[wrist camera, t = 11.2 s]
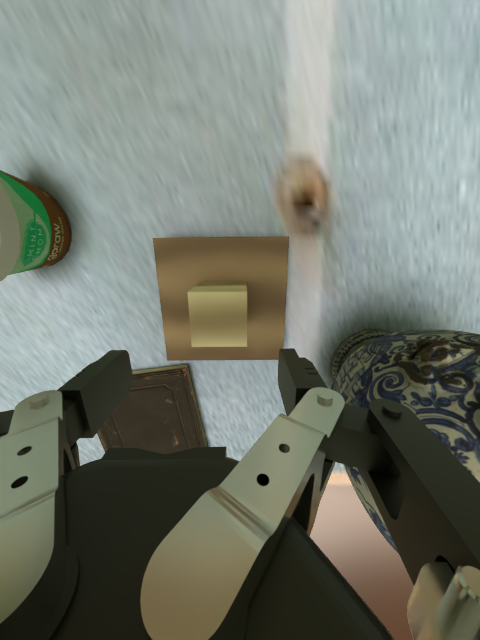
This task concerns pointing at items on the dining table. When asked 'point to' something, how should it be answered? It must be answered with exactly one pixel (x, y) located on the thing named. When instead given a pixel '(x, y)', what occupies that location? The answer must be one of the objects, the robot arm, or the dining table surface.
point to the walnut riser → (224, 266)
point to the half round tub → (30, 227)
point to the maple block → (218, 314)
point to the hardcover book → (156, 414)
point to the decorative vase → (415, 389)
